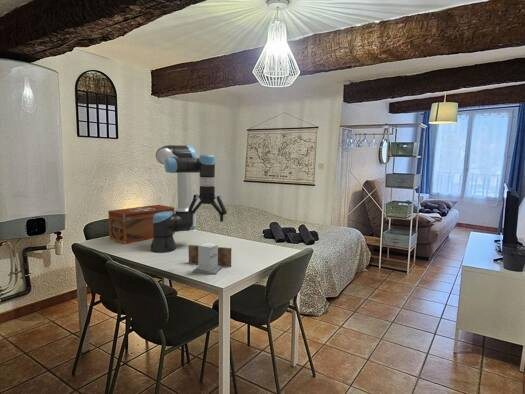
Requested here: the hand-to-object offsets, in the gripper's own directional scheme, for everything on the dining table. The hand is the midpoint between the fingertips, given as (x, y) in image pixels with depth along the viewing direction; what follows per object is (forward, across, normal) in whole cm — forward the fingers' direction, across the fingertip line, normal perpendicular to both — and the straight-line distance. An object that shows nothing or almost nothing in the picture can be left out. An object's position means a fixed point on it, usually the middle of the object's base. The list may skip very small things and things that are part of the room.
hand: (207, 227), depth 167 cm
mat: (+23, 0, -1) cm, 23 cm away
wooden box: (+24, -70, +55) cm, 91 cm away
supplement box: (+22, +1, -1) cm, 22 cm away
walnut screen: (+23, -2, +8) cm, 24 cm away
